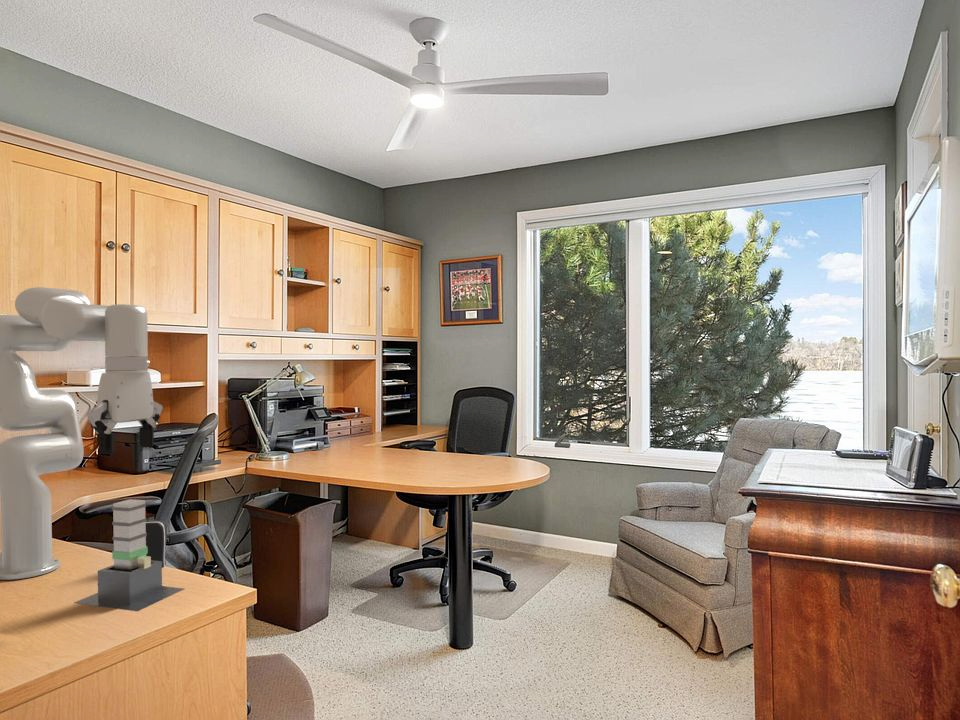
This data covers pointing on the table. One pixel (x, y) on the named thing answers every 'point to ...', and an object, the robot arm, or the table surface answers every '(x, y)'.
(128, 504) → the column
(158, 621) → the table surface
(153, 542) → the battery charger
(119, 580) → the stand
